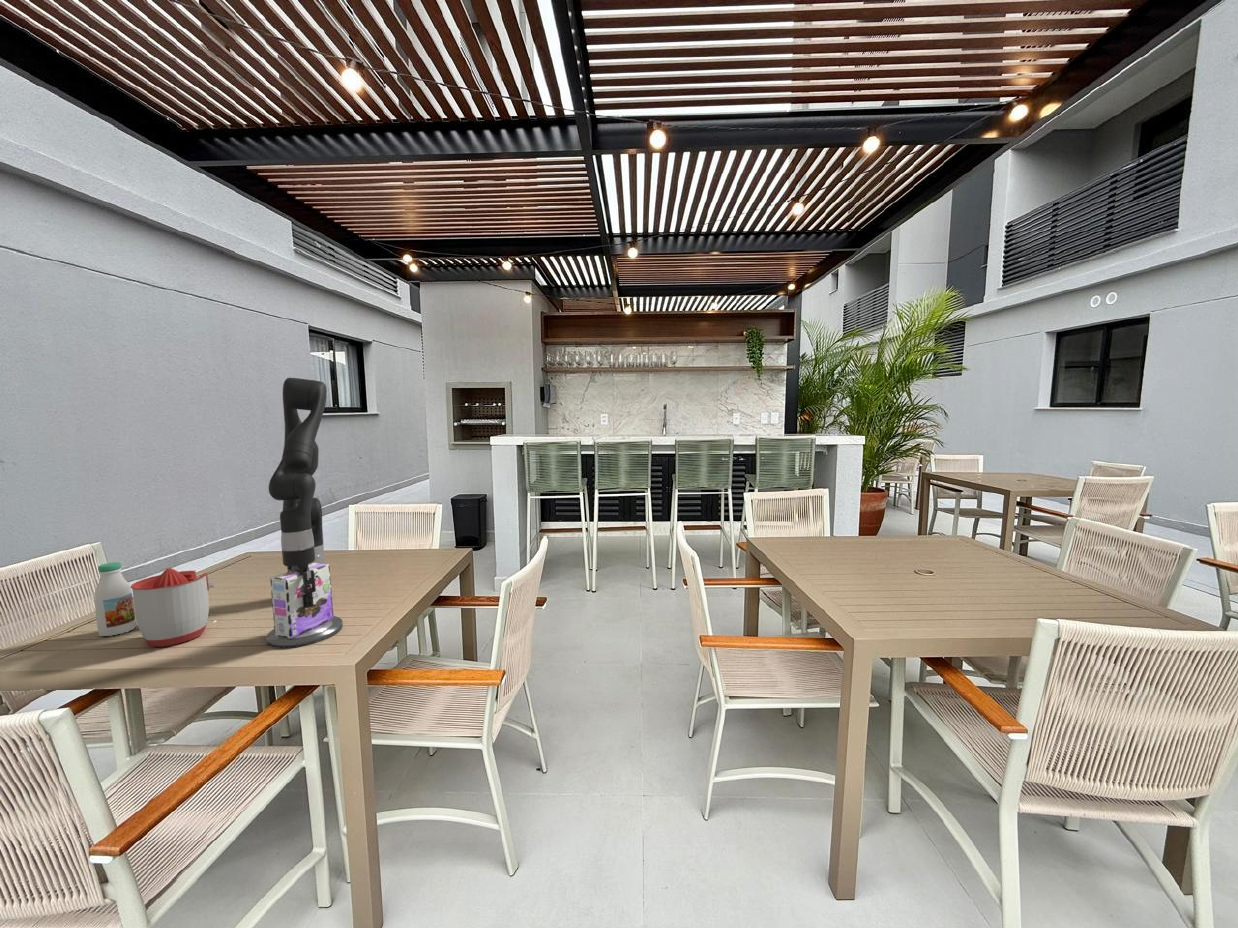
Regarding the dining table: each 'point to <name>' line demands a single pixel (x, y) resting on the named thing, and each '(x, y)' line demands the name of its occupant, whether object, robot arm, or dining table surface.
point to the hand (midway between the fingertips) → (303, 603)
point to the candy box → (300, 601)
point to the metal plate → (306, 635)
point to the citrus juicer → (171, 607)
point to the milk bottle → (113, 601)
